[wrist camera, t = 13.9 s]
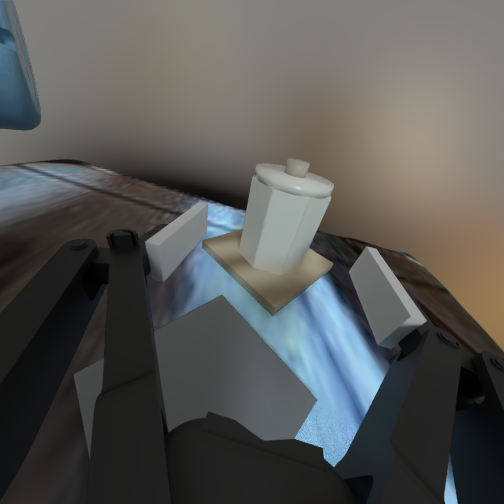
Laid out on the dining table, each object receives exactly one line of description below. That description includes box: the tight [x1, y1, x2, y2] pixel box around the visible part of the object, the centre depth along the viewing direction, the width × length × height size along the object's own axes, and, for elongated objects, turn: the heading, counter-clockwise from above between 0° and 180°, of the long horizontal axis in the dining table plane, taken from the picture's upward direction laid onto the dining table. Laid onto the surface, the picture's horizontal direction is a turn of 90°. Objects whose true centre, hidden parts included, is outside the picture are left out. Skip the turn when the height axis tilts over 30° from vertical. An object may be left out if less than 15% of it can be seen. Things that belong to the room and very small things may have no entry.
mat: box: [74, 295, 317, 458], centre depth 13 cm, size 12×12×1 cm
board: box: [202, 229, 333, 315], centre depth 27 cm, size 14×14×1 cm
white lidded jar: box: [239, 158, 334, 275], centre depth 23 cm, size 9×9×12 cm
